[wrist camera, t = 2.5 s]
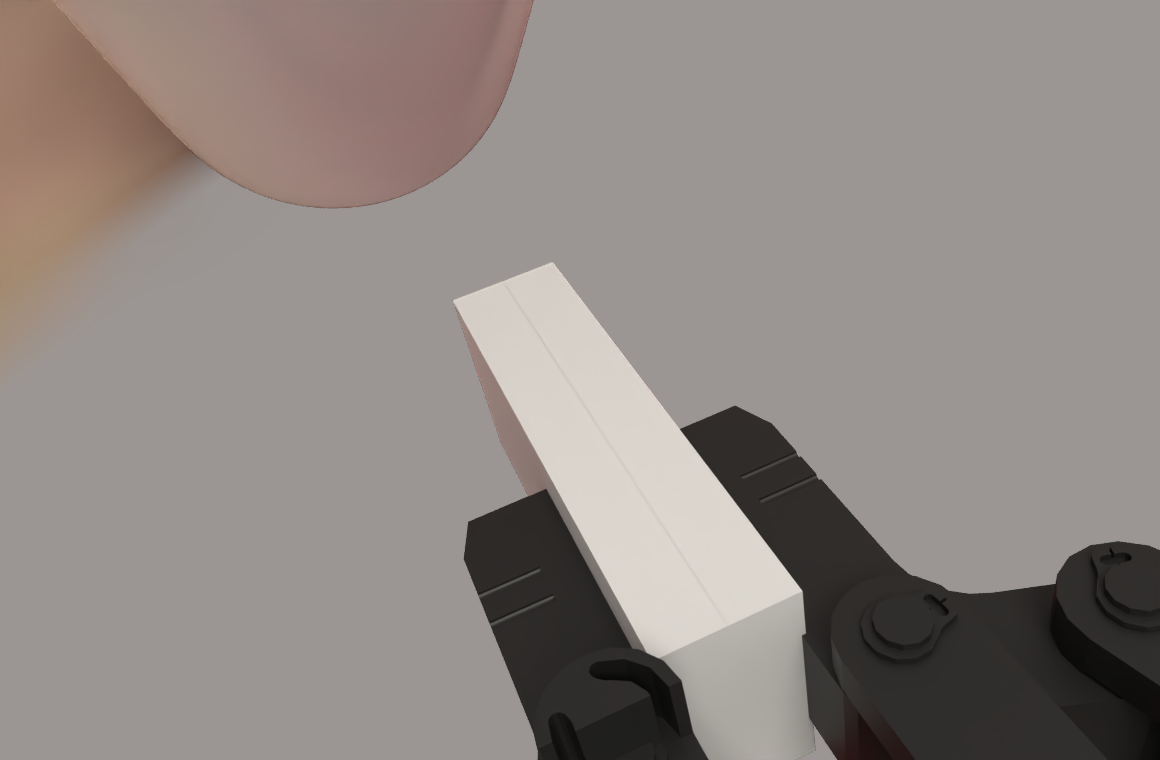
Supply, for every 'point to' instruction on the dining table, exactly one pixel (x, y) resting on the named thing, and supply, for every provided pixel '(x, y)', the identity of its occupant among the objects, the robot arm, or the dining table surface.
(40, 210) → the dining table surface
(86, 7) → the candle holder
